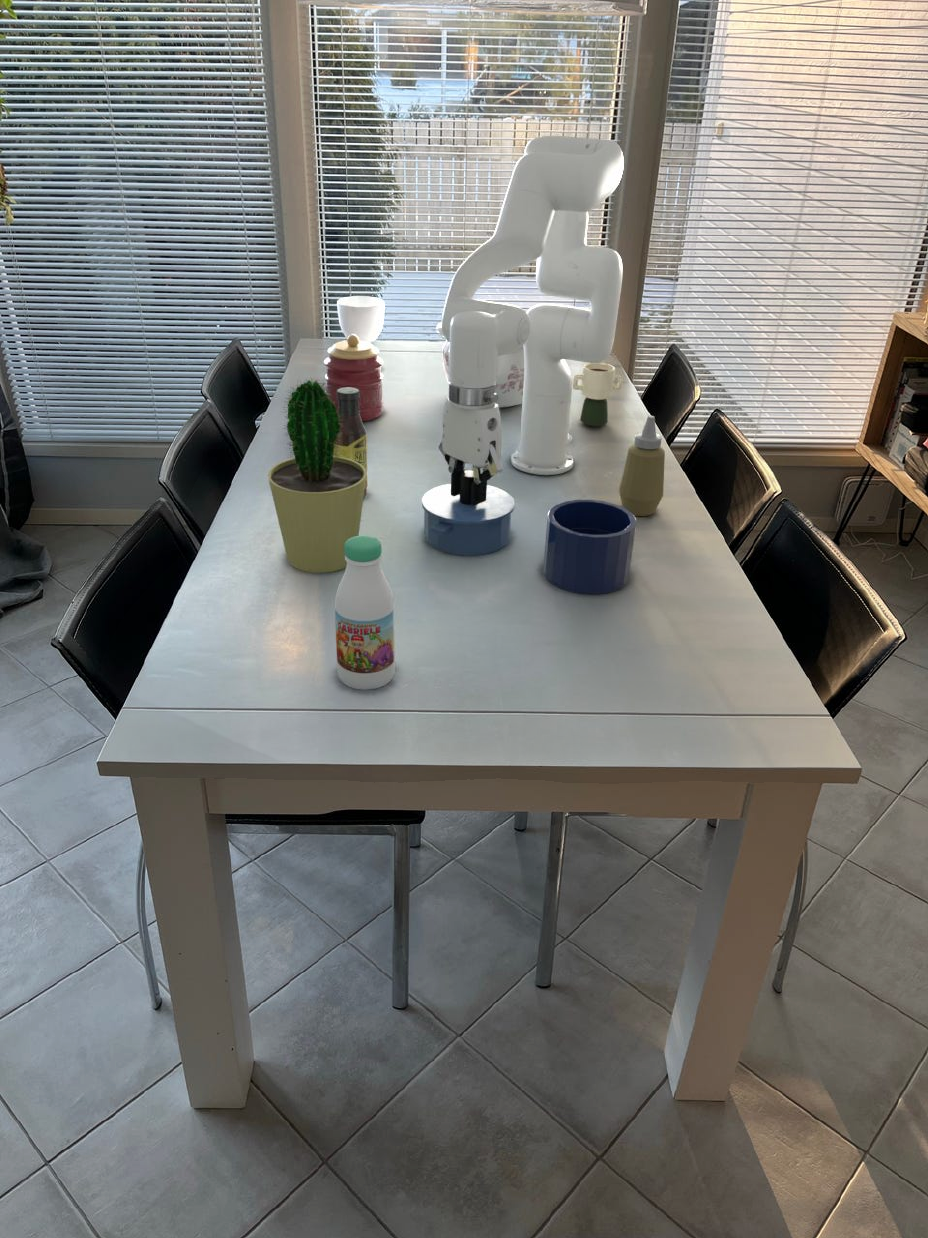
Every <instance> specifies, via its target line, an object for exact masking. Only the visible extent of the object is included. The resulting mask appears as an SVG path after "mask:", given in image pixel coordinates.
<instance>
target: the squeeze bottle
mask: <svg viewBox="0 0 928 1238" xmlns="http://www.w3.org/2000/svg"><path fill="white" fill-rule="evenodd" d="M656 431H657V429H656V418H655V416H654V415H648V416H647V417H646V420H645V423H644V425H643V429H642V432H637V433H636V434H635V436H634V444H631V446H629V447H628V449H627V454H626V457H625V462H624V467H623V471H622V475H621V480H620V483H619V487H618V488H619V489H618V493H619V497H620V501H621V507H623V508H625V509H627V510H628V511H629V512H631V513H632V514H633V515H634V516H636V517H646V516H647V517H648V516H651V515H653V514H654V513H655V512H656V510H657V508H658V506H659V504H660V502H661V500H662V498H663V497H664V484H665V483H664V482H665V460H666V459H665V457H666V455H665V454H666V453H665V452H666V451H665V449H664V448H663V447H662V436H661V435H660V434H658V433H657V432H656Z"/></svg>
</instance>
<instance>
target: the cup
mask: <svg viewBox="0 0 928 1238" xmlns="http://www.w3.org/2000/svg"><path fill="white" fill-rule="evenodd" d="M336 307H337V308H336V309H337V317H338V322H339V326H340V330H341V332H342V334H343V335H344V337H345V338H346V339H347V338H348V336H350V335H356V336H357V337H358V338H359V341H365V342H368V343H370V344H371V343H372V342H374V341H376V340H377V339H378V337H379V336H380V334H381V332H382V329H383V326H384V320H385V301H384V300H383V299H382V298H379V297H376V296H371V295H370V296H369V295H351V296H345V297H341V298H339V299H338V300H337V301H336Z"/></svg>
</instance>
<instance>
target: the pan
mask: <svg viewBox="0 0 928 1238" xmlns="http://www.w3.org/2000/svg"><path fill="white" fill-rule="evenodd" d="M423 510H424V509H423ZM423 515H424V517H423V518H424V519H423V521H424V522H423V523H424V525H423V527H424V529H423V533H424V537H425V541H426V542H427V543H428V544H429V545H430V546H431V547H433V548H435V549H436V550H439V551H441V552H443V553H448V554H452V555H457V556H481V555H488V554H491V553H494V552H497V551H500V550H502V549H503V548H504V547H506V546H507V544H508V543H509V541H510V535H511V523H512V522H511V521H512V513H511V514H510V515H509V516H507V517H506V518H504V519H501V520H498V521H495V522H491V523H485V524H457V523H451V522H447V521H443V520H440V519H437V518H435V517H433V516H431V515H429V514H428V513H427V512H426V511H425V510H424V513H423Z"/></svg>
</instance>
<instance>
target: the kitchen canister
mask: <svg viewBox="0 0 928 1238" xmlns="http://www.w3.org/2000/svg"><path fill="white" fill-rule="evenodd" d="M379 353H380V350H379V348H377V347H376V346H374V345H373V344H372V343H371V342H370V343H368V342H365V341H359V338H358V337H357V336H356V335H350V336H348V338H346V340H342V341H341V340H340V341H337V342H336V343H334V344H333V345H332V346H330V347H328V349H327V354H328V356H327V357H326V358H325V359H324V361H323V363H324V366H325V367H326V373H325V375H324V379H325V387H327V388H328V389H327V390H326V389H325V390H326V391H325V392H326V393H327V392H328V393H327V394H326V395H328V396H329V393H330V395H331V394H332V393H333V394H332V395H331V396H330V397H329V398H331V397H332V398H331V399H330V400H331V401H332V403H334V406H335V404H336V406H335V407H336V408H337V411H336V412H337V413H338V399H337V390H338V389H340V388H346V387H352V388H356V389H358V390H359V394H360V398H359V411H360V413H359V414H360V417H361V420H362V422H366V421H371V420H375V419H377V418H379V417H381V416H382V414H383V411H384V404H385V403H384V398H383V397H384V395H383V394H384V393H383V389H384V387H383V379H384V374H383V373H382V367H383V364H384V360H383V359H382V358H381V357H380V356H378V355H379ZM334 401H335V402H334ZM338 415H339V414H338Z"/></svg>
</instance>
